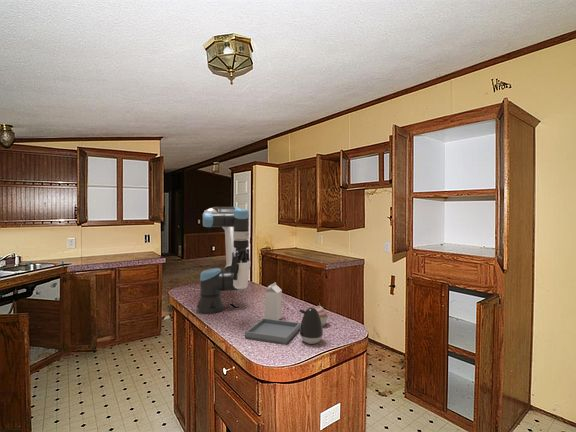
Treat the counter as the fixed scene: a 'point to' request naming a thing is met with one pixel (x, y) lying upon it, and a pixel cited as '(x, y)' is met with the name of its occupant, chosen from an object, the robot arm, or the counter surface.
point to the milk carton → (273, 302)
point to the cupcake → (322, 314)
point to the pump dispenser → (311, 326)
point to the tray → (273, 331)
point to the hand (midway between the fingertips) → (240, 284)
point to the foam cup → (243, 274)
